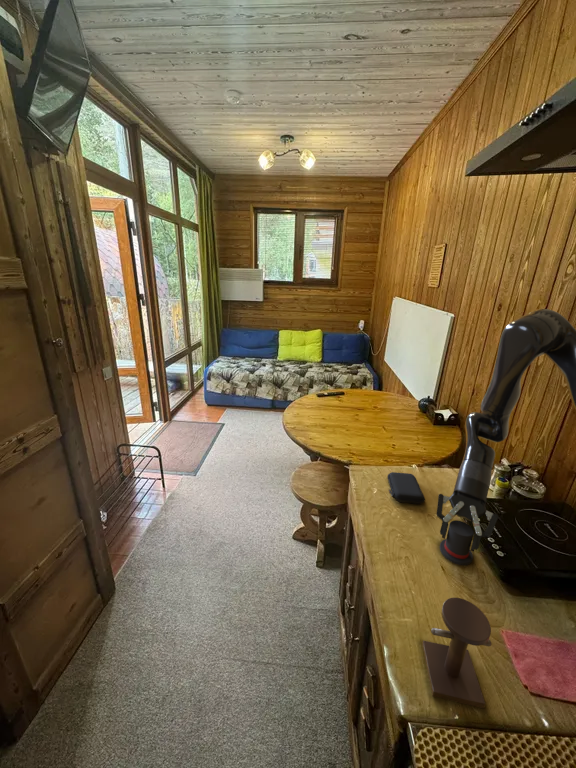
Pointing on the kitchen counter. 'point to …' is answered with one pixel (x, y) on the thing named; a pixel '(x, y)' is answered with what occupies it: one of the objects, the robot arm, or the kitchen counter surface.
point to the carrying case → (405, 488)
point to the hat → (458, 543)
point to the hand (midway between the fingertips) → (457, 544)
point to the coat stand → (457, 653)
